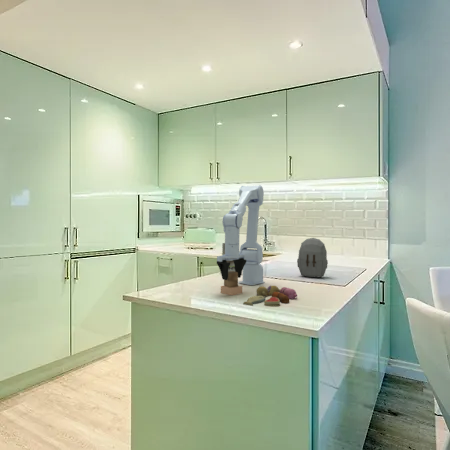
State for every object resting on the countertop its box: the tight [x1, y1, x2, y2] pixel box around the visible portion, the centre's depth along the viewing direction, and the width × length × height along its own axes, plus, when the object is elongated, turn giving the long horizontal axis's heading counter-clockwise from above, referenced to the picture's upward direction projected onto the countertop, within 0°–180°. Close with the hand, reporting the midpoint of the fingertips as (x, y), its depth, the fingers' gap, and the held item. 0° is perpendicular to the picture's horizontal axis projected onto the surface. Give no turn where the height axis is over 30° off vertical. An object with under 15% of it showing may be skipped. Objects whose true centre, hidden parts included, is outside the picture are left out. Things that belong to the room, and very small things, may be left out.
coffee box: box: [221, 242, 235, 271], centre depth 187 cm, size 9×6×16 cm
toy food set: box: [242, 285, 298, 307], centre depth 130 cm, size 26×16×4 cm, turn 159°
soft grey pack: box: [296, 237, 329, 278], centre depth 178 cm, size 15×8×20 cm, turn 65°
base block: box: [220, 285, 243, 296], centre depth 139 cm, size 6×6×3 cm
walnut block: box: [223, 271, 239, 288], centre depth 139 cm, size 4×4×6 cm
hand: (231, 278), depth 139 cm, fingers open, 7 cm apart
